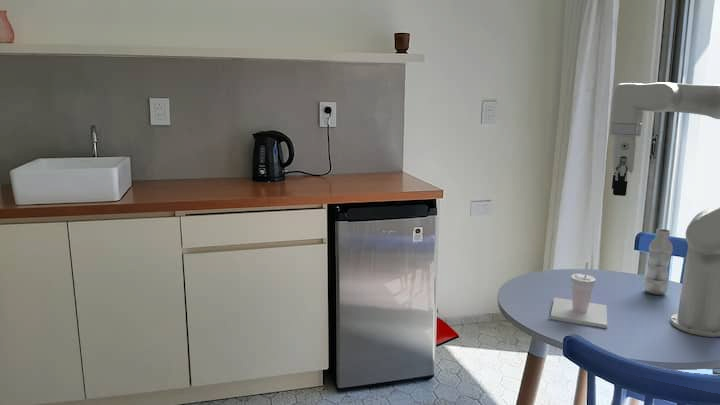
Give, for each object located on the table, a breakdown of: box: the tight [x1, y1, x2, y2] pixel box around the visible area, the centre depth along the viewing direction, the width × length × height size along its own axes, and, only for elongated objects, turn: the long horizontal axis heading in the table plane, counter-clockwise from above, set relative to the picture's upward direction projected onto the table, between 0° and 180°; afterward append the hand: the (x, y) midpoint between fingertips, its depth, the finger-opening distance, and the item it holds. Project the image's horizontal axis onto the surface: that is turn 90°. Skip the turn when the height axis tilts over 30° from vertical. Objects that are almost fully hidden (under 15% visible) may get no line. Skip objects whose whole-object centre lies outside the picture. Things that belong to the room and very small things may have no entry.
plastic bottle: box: [643, 228, 674, 296], centre depth 161 cm, size 6×7×20 cm
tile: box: [549, 297, 608, 329], centre depth 148 cm, size 14×14×1 cm
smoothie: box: [570, 262, 596, 313], centre depth 146 cm, size 6×6×14 cm
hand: (618, 192), depth 147 cm, fingers open, 9 cm apart
